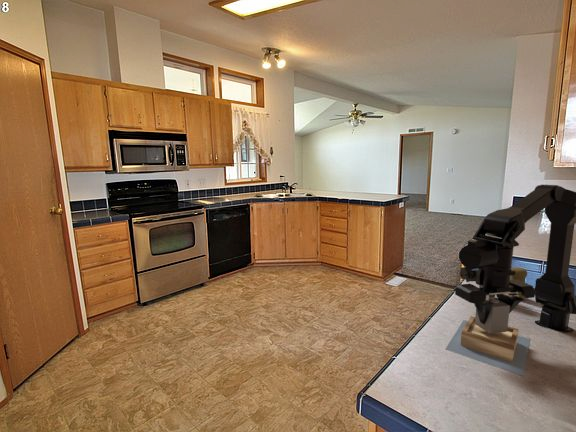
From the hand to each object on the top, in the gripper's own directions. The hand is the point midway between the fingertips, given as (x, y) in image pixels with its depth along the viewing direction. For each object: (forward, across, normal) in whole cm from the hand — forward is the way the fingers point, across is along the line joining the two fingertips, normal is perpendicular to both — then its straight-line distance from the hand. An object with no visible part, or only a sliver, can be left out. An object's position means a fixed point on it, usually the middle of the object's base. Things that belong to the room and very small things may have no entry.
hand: (491, 322), depth 81 cm
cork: (+7, -35, -25) cm, 44 cm away
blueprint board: (+7, 0, 0) cm, 7 cm away
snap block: (+2, 0, 0) cm, 2 cm away
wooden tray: (+6, 0, 0) cm, 6 cm away
